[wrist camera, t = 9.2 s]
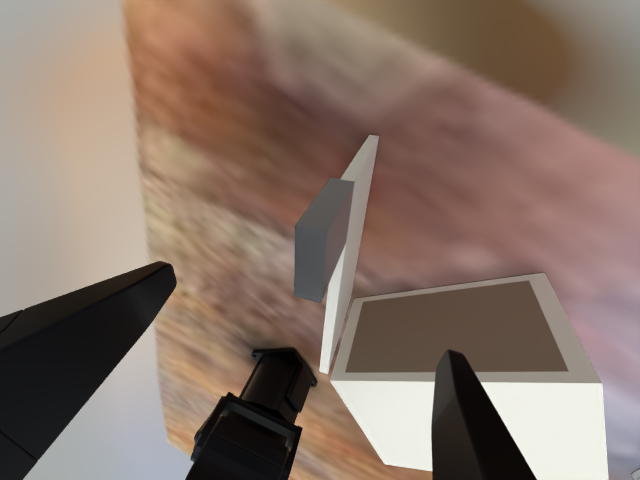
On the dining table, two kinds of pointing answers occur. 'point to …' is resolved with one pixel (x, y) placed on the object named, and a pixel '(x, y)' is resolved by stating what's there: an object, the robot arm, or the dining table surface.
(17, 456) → the robot arm
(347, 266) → the front flap
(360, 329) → the carton
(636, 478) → the ink cartridge box
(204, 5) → the dining table surface
